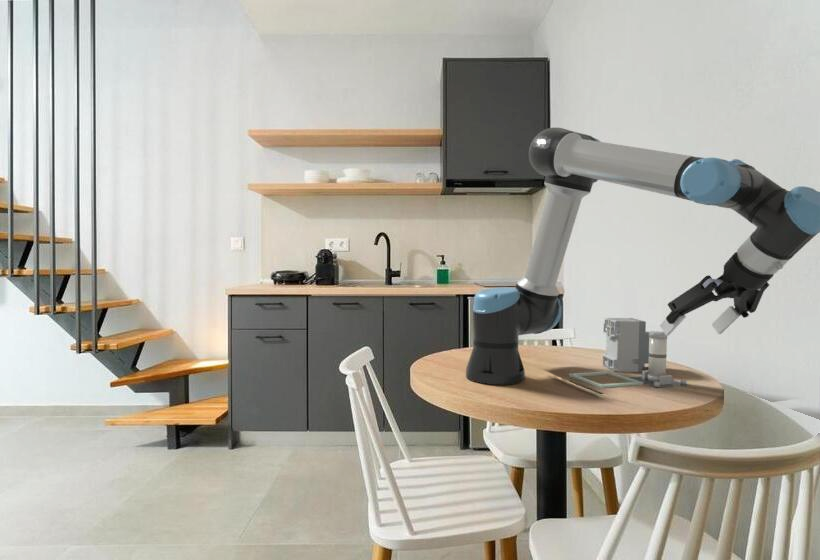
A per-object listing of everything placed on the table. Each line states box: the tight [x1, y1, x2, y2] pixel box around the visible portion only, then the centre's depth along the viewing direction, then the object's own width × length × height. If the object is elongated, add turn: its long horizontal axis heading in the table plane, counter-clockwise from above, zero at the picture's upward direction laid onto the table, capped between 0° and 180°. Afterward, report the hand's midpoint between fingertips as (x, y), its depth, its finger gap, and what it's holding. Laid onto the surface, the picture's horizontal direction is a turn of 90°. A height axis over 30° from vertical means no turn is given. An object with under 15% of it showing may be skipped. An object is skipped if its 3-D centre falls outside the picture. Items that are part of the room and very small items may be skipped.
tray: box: [568, 370, 644, 395], centre depth 115 cm, size 12×12×2 cm
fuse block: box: [628, 369, 690, 389], centre depth 114 cm, size 10×10×4 cm
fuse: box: [647, 330, 668, 383], centre depth 114 cm, size 4×4×12 cm
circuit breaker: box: [602, 317, 650, 373], centre depth 128 cm, size 8×14×15 cm, turn 89°
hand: (690, 329), depth 105 cm, fingers open, 13 cm apart
